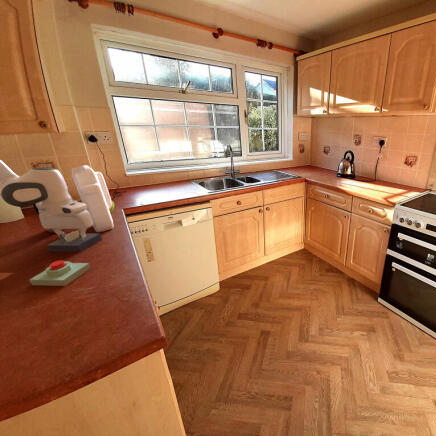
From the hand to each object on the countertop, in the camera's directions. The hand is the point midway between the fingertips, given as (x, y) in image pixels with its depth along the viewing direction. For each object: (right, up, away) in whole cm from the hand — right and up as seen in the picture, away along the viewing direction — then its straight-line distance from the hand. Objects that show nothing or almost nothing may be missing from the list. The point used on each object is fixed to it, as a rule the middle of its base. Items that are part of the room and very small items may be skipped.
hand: (73, 237), depth 104 cm
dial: (0, -1, 0) cm, 1 cm away
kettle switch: (+14, -9, -21) cm, 27 cm away
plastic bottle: (-23, +2, +16) cm, 28 cm away
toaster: (-3, +5, +22) cm, 23 cm away
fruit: (-13, +10, +37) cm, 40 cm away
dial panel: (0, -4, +2) cm, 4 cm away
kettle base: (+15, -12, -20) cm, 28 cm away
